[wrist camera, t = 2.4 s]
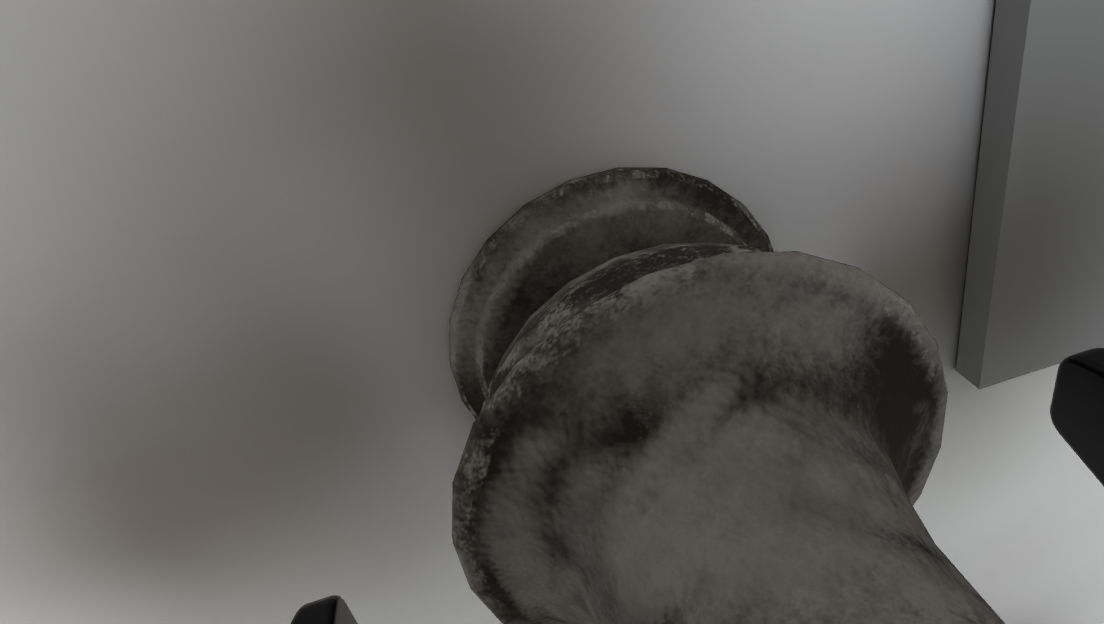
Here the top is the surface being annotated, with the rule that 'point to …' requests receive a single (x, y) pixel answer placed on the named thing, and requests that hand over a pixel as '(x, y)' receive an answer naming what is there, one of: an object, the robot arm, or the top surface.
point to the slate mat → (1037, 194)
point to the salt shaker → (691, 421)
